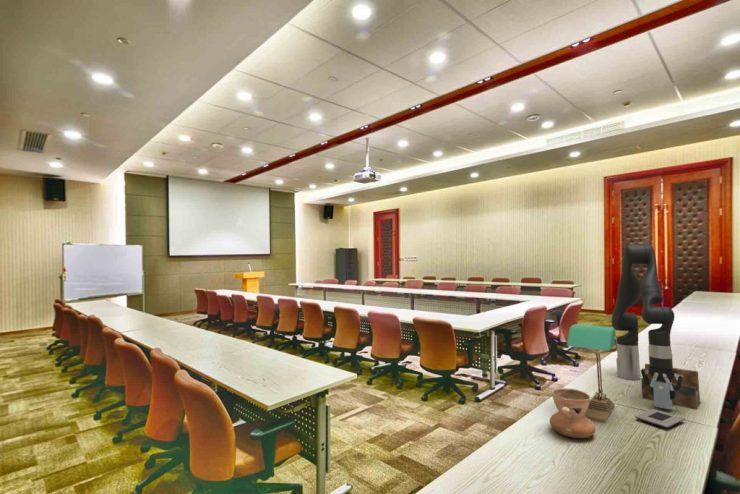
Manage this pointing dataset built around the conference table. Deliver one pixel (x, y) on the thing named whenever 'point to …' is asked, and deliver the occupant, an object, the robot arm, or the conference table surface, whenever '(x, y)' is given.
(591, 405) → the banker's lamp
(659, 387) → the cabinet block
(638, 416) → the electrical outlet
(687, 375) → the board
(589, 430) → the ceramic jug
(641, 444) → the conference table surface
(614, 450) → the conference table surface
